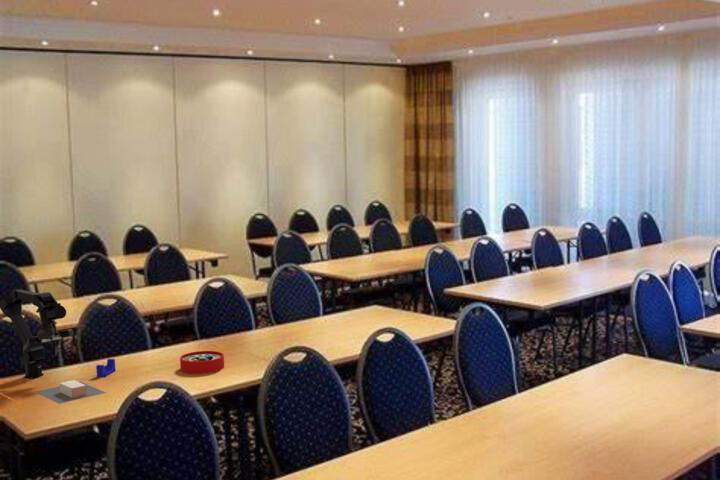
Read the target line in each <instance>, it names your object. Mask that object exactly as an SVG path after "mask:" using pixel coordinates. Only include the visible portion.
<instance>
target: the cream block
mask: <svg viewBox="0 0 720 480" xmlns="http://www.w3.org/2000/svg"><path fill="white" fill-rule="evenodd" d="M79 382H80V381H77V380H75V379H73V380H68V381H63V382H59V386H60V392H61V393H63V394H65V395H67V396H69V397H72V398H76V397H80V396H85V395H87V385H88V384H87V385H84V384H82V383H83V382H82V383H79Z"/></svg>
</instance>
